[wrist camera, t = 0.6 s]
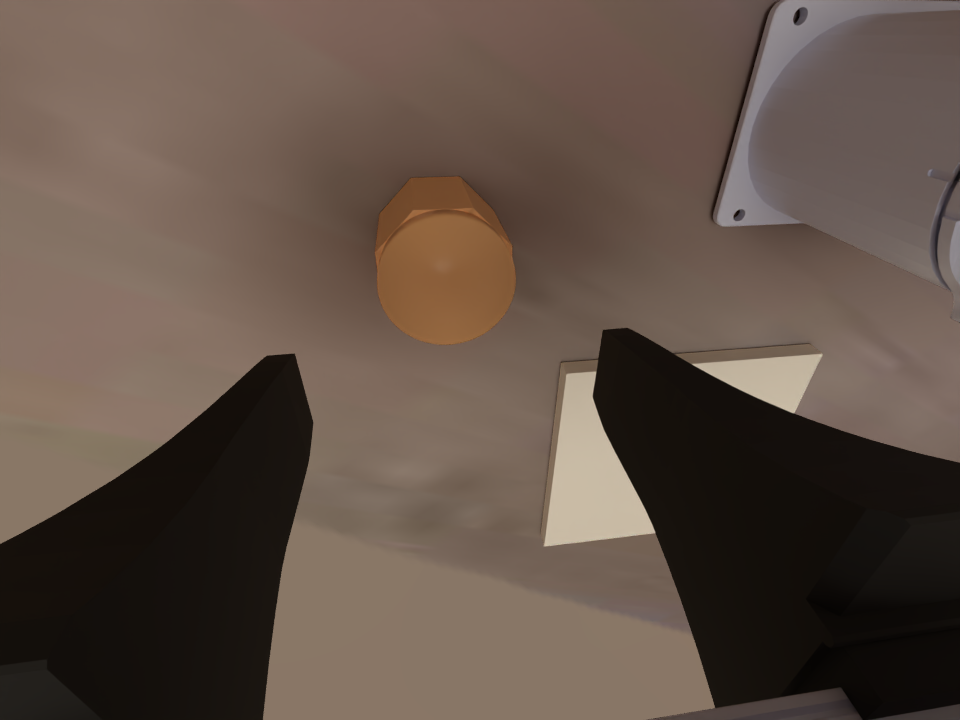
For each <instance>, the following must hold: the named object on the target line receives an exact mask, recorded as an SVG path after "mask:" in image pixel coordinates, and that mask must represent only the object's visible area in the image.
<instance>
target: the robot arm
mask: <svg viewBox="0 0 960 720" xmlns="http://www.w3.org/2000/svg"><path fill="white" fill-rule="evenodd" d="M798 9H799V10H800V17H799V19H798V21H797V22H796V23H795V24H794V22H793V16H794V14H795V12H796V11H797V10H798ZM739 209H740V213H739V214H738V216H737V217H735V218H733V216H734V214H735V212H736V211H737V210H739ZM713 219H714V222H715V223H717V224H718V225H720V226H723V227H729V226H752V225H775V224H798V223H805V224H807V225H809V226H811V227H813V228H815V229H817V230H820V231H822V232H824V233H826V234H828V235H830V236H832V237H835V238H837V239H839V240H841V241H843V242H845V243H847V244H850V245H852V246H854V247H856V248H858V249H860V250H862V251H865V252H867V253H869V254H871V255H873V256H875V257H877V258H880V259H882V260H884V261H886V262H888V263H890V264H892V265H895V266H897V267H899V268H901V269H903V270H905V271H907V272H910V273H912V274H914V275H916V276H918V277H920V278H922V279H925V280H927V281H929V282H931V283H933V284H935V285H937V286H940V287H942V288H944V289H946V290H948V291H950V292H952V293H953V297H954V305H953V309H952V312H951V318H952V319H954V320H955V321H957V322H959V323H960V1H929V0H780V1H779V2H777V3H776V4H775V5H774V6H773V7H772V9H771V10H770V13H769V15H768V18H767V22H766V25H765V29H764V32H763V36H762V40H761V43H760V47H759V51H758V54H757V58H756V61H755V65H754V69H753V72H752V76H751V79H750V83H749V87H748V90H747V94H746V98H745V101H744V105H743V108H742V112H741V116H740V119H739V123H738V126H737V130H736V134H735V137H734V141H733V145H732V148H731V152H730V155H729V159H728V163H727V166H726V170H725V173H724V177H723V181H722V184H721V188H720V192H719V195H718V199H717V202H716V206H715V210H714V213H713ZM592 397H593V400H594V403H595V406H596V409H597V412H598V415H599V418H600V421H601V423H602V426H603V429H604V431H605V433H606V435H607V437H608V439H609V441H610V443H611V445H612V447H613V449H614V451H615V453H616V455H617V457H618V459H619V461H620V462H621V464H622V466H623V468H624V470H625V472H626V474H627V476H628V478H629V479H630V481H631V483H632V485H633V487H634V489H635V491H636V493H637V495H638V496H639V498H640V500H641V502H642V504H643V506H644V508H645V510H646V512H647V514H648V517H649V519H650V521H651V523H652V525H653V528H654V530H655V533H656V535H657V538H658V541H659V543H660V546H661V548H662V551H663V553H664V556H665V558H666V561H667V563H668V566H669V569H670V572H671V574H672V577H673V580H674V583H675V585H676V588H677V591H678V593H679V596H680V599H681V602H682V605H683V608H684V611H685V614H686V616H687V619H688V622H689V625H690V628H691V631H692V634H693V637H694V640H695V643H696V646H697V649H698V652H699V655H700V659H701V662H702V665H703V669H704V672H705V675H706V679H707V682H708V685H709V688H710V692H711V695H712V698H713V702H714V705H715V708H714V709H708V710H702V711H696V712H690V713H684V714H678V715H672V716H666V717H660V718H654V719H648V720H960V463H958V462H954V461H950V460H945V459H941V458H936V457H932V456H928V455H923V454H919V453H916V452H912V451H908V450H905V449H901V448H898V447H894V446H890V445H887V444H883V443H880V442H876V441H873V440H869V439H866V438H863V437H860V436H857V435H853V434H850V433H847V432H844V431H841V430H838V429H835V428H832V427H830V426H827V425H824V424H821V423H818V422H815V421H812V420H810V419H807V418H804V417H802V416H799V415H797V414H794V413H791V412H789V411H786V410H784V409H782V408H779V407H777V406H775V405H772V404H770V403H768V402H765V401H763V400H761V399H758V398H756V397H754V396H752V395H750V394H748V393H745V392H743V391H741V390H739V389H737V388H735V387H733V386H731V385H729V384H727V383H726V382H724V381H722V380H720V379H718V378H716V377H714V376H712V375H710V374H708V373H707V372H705V371H703V370H701V369H699V368H697V367H696V366H694V365H692V364H690V363H689V362H687V361H685V360H683V359H682V358H680V357H678V356H677V355H675V354H673V353H671V352H670V351H668V350H666V349H665V348H663V347H661V346H660V345H658V344H656V343H655V342H653V341H651V340H649V339H648V338H646V337H644V336H642V335H640V334H639V333H637V332H635V331H633V330H631V329H628V328H621V329H608V330H603V333H602V339H601V346H600V352H599V358H598V365H597V371H596V377H595V384H594V390H593V396H592ZM312 430H313V420H312V416H311V412H310V409H309V405H308V401H307V397H306V394H305V390H304V386H303V383H302V379H301V375H300V371H299V368H298V364H297V360H296V357H295V354H283V355H270V356H266V357H265V358H263V359H262V360H261V361H260V362H259V363H257V364H256V365H255V366H254V367H253V368H252V369H251V370H250V371H249V372H248V373H246V374H245V375H244V376H243V377H242V378H241V379H240V380H239V381H238V382H237V383H236V384H235V385H234V386H232V387H231V388H230V389H229V390H228V391H227V392H226V393H225V394H224V395H222V396H221V397H220V398H219V399H218V400H217V401H216V402H215V403H214V404H212V405H211V406H210V407H209V408H208V409H207V410H206V411H204V412H203V413H202V414H201V415H200V416H198V417H197V418H196V419H195V420H193V421H192V422H191V423H190V424H189V425H187V426H186V427H185V428H184V429H182V430H181V431H180V432H179V433H178V434H176V435H175V436H174V437H173V438H171V439H170V440H169V441H168V442H166V443H165V444H164V445H162V446H161V447H160V448H158V449H157V450H156V451H154V452H153V453H152V454H150V455H149V456H147V457H146V458H145V459H143V460H142V461H140V462H139V463H137V464H136V465H134V466H133V467H131V468H130V469H129V470H127V471H126V472H124V473H123V474H121V475H120V476H118V477H117V478H115V479H114V480H112V481H111V482H109V483H107V484H106V485H104V486H102V487H101V488H99V489H97V490H96V491H94V492H92V493H91V494H89V495H87V496H86V497H84V498H82V499H81V500H79V501H77V502H76V503H74V504H72V505H71V506H69V507H68V508H66V509H65V510H63V511H61V512H59V513H57V514H56V515H54V516H52V517H50V518H48V519H47V520H45V521H43V522H41V523H39V524H37V525H36V526H34V527H32V528H30V529H28V530H26V531H25V532H23V533H21V534H19V535H17V536H15V537H13V538H11V539H9V540H7V541H6V542H3V543H2V544H0V720H263V711H264V702H265V694H266V684H267V675H268V666H269V657H270V650H271V642H272V633H273V626H274V619H275V610H276V604H277V597H278V591H279V584H280V578H281V571H282V565H283V561H284V556H285V552H286V546H287V543H288V540H289V535H290V532H291V528H292V524H293V521H294V517H295V513H296V509H297V505H298V502H299V498H300V494H301V490H302V486H303V482H304V478H305V475H306V471H307V467H308V462H309V456H310V448H311V440H312Z"/></svg>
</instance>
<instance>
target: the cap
mask: <svg viewBox="0 0 960 720" xmlns="http://www.w3.org/2000/svg"><path fill="white" fill-rule="evenodd" d="M512 247H513V246H512V244H511V242H510V241H509V239H508V237H507V235H506V233H505V231H504V229H503V227H502V226H501V224H500V222H499V220H498V218H497V216H496V214H495V212H494V210H493V209H492V208H491V207H490V206H489V205H488V204H487V203H486V202H485V201H484V200H483V199H482V198H481V197H480V196H479V195H478V194H477V193H476V192H475V191H474V190H473V189H472V188H471V187H470V186H469V185H468V184H467V183H466V182H465V181H464V180H463V179H462V178H461V177H460V176H457V177H422V178H410V179H409V180H408V182H407V183H406V184H405V185H404V186H403V187H402V189H401V190H400V191H399V192H398V193H397V194H396V195H395V197H394V198H393V199H392V200H391V201H390V202H389V203H388V205H387V206H386V207H385V208H384V209H383V210H382V211H381V213H380V214H379V222H378V230H377V239H376V248H375V256H376V265H377V273H378V276H377V290H378V295H379V299H380V302H381V305H382V307H383V309H384V311H385V313H386V314H387V316H388V317H389V319H390V320H391V321H392V322H393V323H394V324H395V325H396V326H397V327H398V328H399V329H400V330H401V331H403V332H404V333H406V334H407V335H409V336H411V337H413V338H415V339H417V340H420V341H423V342H427V343H431V344H439V345H451V344H458V343H463V342H467V341H469V340H472V339H475V338H477V337H479V336H481V335H483V334H484V333H486V332H487V331H489V330H490V329H491V328H492V327H494V326H495V325H496V324H497V323H498V322H499V321H500V320H501V318H502V317H503V316H504V314H505V313H506V311H507V310H508V308H509V306H510V304H511V301H512V299H513V296H514V292H515V285H516V273H515V266H514V263H513V260H512Z"/></svg>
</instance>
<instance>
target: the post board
mask: <svg viewBox="0 0 960 720" xmlns="http://www.w3.org/2000/svg"><path fill="white" fill-rule="evenodd" d="M675 355H677V356H678V357H680V358H682V359H683V360H685V361H687V362H689V363H690V364H692V365H694V366H696V367H697V368H699V369H701V370H703V371H705V372H707V373H708V374H710V375H712V376H714V377H716V378H718V379H720V380H722V381H724V382H726V383H727V384H729V385H731V386H733V387H735V388H737V389H739V390H741V391H743V392H745V393H748V394H750V395H752V396H754V397H756V398H758V399H761V400H763V401H765V402H768V403H770V404H772V405H775V406H777V407H779V408H782V409H784V410H786V411H789V412H791V413H795V411H796V408H797V406H798V404H799V402H800V400H801V398H802V396H803V394H804V392H805V390H806V388H807V386H808V384H809V382H810V379H811V377H812V375H813V373H814V371H815V369H816V367H817V365H818V363H819V361H820V359H821V357H822V355H823V353H821V352H820V351H819V350H817V349H816V348H815V347H813V346H812V345H811V344H800V345H787V346H774V347H761V348H747V349H734V350H721V351H708V352H694V353H681V354H675ZM597 365H598V360H588V361H575V362H562V363H561V367H560V376H559V384H558V392H557V401H556V409H555V417H554V426H553V434H552V442H551V451H550V459H549V468H548V476H547V484H546V493H545V501H544V509H543V518H542V526H541V537H542V540H543V544H544V546H552V545H560V544H568V543H577V542H585V541H593V540H602V539H610V538H618V537H626V536H635V535H643V534H651V533H655V530H654V528H653V525H652V523H651V521H650V519H649V517H648V514H647V512H646V510H645V508H644V506H643V504H642V502H641V500H640V498H639V496H638V495H637V493H636V491H635V489H634V487H633V485H632V483H631V481H630V479H629V478H628V476H627V474H626V472H625V470H624V468H623V466H622V464H621V462H620V461H619V459H618V457H617V455H616V453H615V451H614V449H613V447H612V445H611V443H610V441H609V439H608V437H607V435H606V433H605V431H604V429H603V426H602V423H601V421H600V418H599V415H598V412H597V409H596V406H595V403H594V400H593V397H592V396H593V390H594V384H595V377H596V371H597Z"/></svg>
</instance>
